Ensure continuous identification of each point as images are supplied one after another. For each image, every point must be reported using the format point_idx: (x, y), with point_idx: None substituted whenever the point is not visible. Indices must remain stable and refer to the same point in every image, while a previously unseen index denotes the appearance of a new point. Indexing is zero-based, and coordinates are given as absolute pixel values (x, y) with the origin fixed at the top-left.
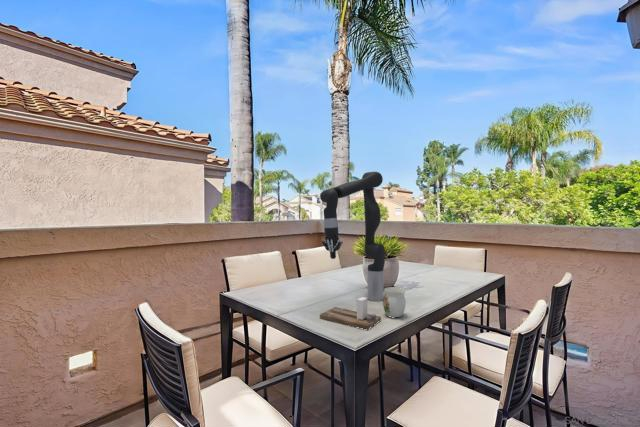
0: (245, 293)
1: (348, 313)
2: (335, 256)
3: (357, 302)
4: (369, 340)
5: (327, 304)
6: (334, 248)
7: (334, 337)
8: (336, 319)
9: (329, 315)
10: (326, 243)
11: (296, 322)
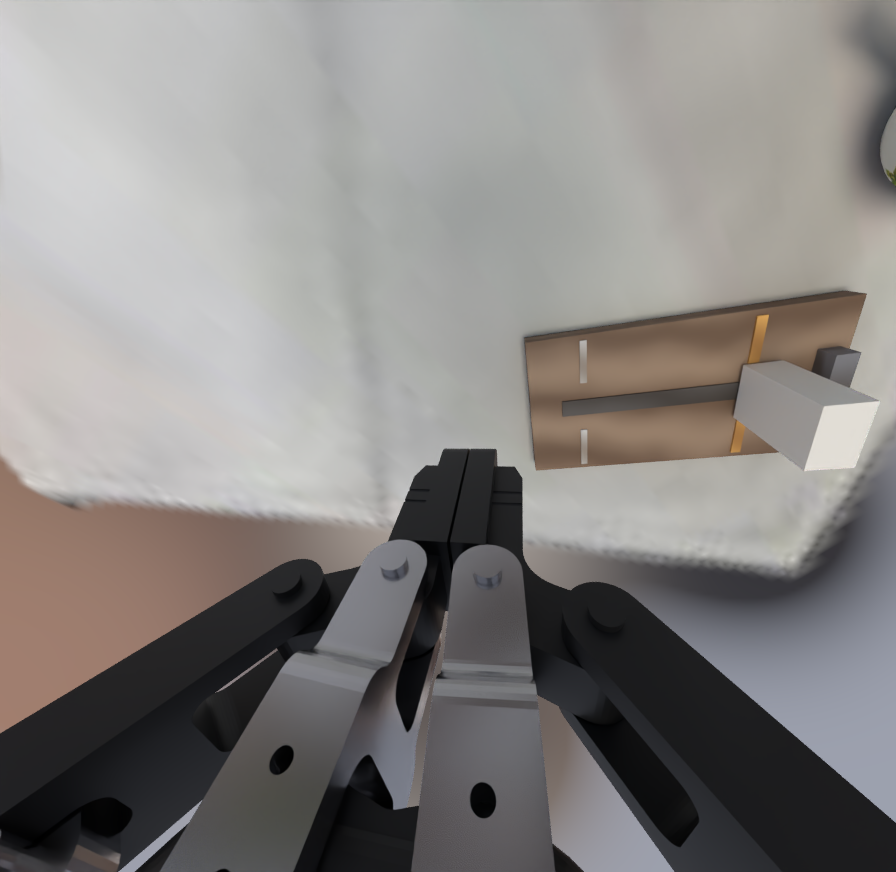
0: (50, 439)
1: (651, 376)
2: (521, 493)
3: (796, 460)
4: (835, 506)
5: (420, 282)
6: (475, 641)
7: (690, 549)
8: (629, 460)
9: (583, 458)
10: (103, 845)
11: None
